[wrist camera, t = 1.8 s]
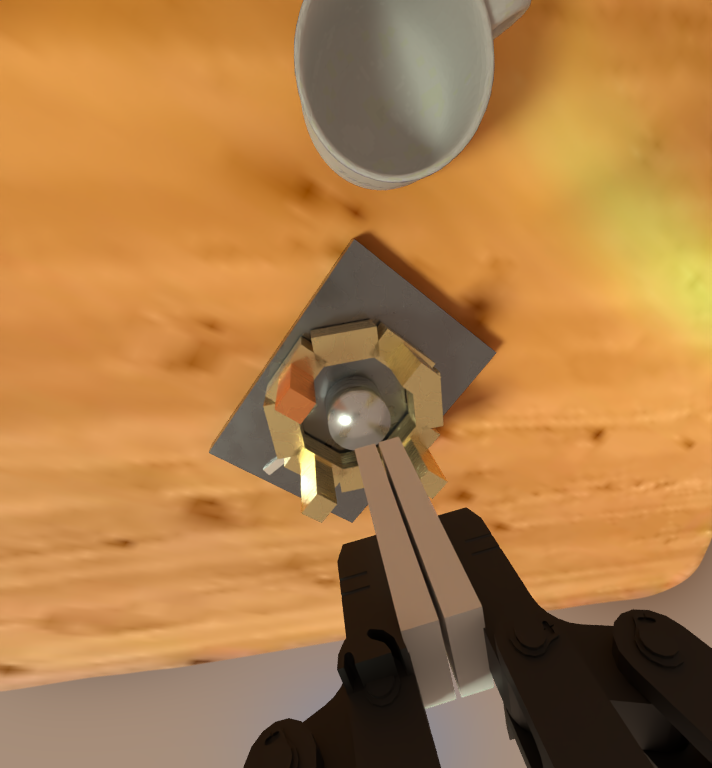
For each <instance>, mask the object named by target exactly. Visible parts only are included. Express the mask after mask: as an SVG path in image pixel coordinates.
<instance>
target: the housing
mask: <svg viewBox="0 0 712 768" xmlns="http://www.w3.org/2000/svg"><path fill="white" fill-rule="evenodd" d="M365 320H372V322H373V323H374V324H375V325H376V326H377V327H378V325H379V324H380V323H381V322H382V323H383V324H385V325H386V326H387V327H389V328H390V329H392V330H393V331H394V332H396V333H397V334H398V335H400V336H401V337H403V338H404V339H405V340H407V341H408V342H409V343H411V344H412V345H413V346H415V347H416V348H418V349H419V350H420V351H422V352H423V353H424V354H426V355H427V356H428V357H429V358H430V359H431V360H432V361H433V362H434V363H435V365H434V367H435V368H436V369H437V370H438V371H439V372H440V376H441V394H442V410H443V415H444V414H445V413H446V412H447V411H448V409H449V408H450V407H451V406H452V405H453V403H454V402H455V401H456V400H457V399H458V398H459V396H460V395H461V394H462V393H463V392H464V390H465V389H466V388H467V387H468V386H469V385H470V383H471V382H472V381H473V380H474V379H475V378H476V376H477V375H478V374H479V373H480V372H481V370H482V369H483V368H484V367H485V366H486V365H487V363H488V362H489V361H490V360H491V359H492V357H493V356H494V355H495V354H496V352H495V351H494V350H492V349H491V348H490V347H489V346H487V345H486V344H485V343H484V342H482V341H481V340H480V339H479V338H477V337H476V336H475V335H474V334H472V333H471V332H470V331H469V330H467V329H466V328H465V327H464V326H462V325H461V324H460V323H459V322H457V321H456V320H455V319H454V318H452V317H451V316H450V315H449V314H447V313H446V312H445V311H444V310H442V309H441V308H440V307H439V306H437V305H436V304H435V303H434V302H432V301H431V300H430V299H429V298H427V297H426V296H425V295H424V294H422V293H421V292H420V291H419V290H417V289H416V288H415V287H414V286H412V285H411V284H410V283H409V282H407V281H406V280H405V279H404V278H402V277H401V276H400V275H399V274H397V273H396V272H395V271H394V270H392V269H391V268H390V267H389V266H387V265H386V264H385V263H384V262H382V261H381V260H380V259H379V258H378V257H376V256H375V255H374V254H373V253H371V252H370V251H369V250H368V249H366V248H365V247H364V246H363V245H361V244H360V243H359V242H358V241H356V240H355V239H351V241H350V242H349V244H348V245H347V247H346V248H345V250H344V251H343V253H342V254H341V256H340V257H339V258H338V260H337V261H336V263H335V264H334V266H333V267H332V269H331V270H330V272H329V273H328V275H327V276H326V278H325V279H324V281H323V282H322V283H321V285H320V286H319V288H318V289H317V291H316V292H315V294H314V295H313V297H312V298H311V300H310V301H309V303H308V304H307V305H306V307H305V308H304V310H303V311H302V313H301V314H300V316H299V317H298V319H297V320H296V322H295V323H294V325H293V326H292V327H291V329H290V330H289V332H288V333H287V335H286V336H285V338H284V339H283V341H282V342H281V344H280V345H279V347H278V348H277V349H276V351H275V352H274V354H273V355H272V357H271V358H270V360H269V361H268V363H267V364H266V366H265V367H264V369H263V370H262V372H261V373H260V374H259V376H258V377H257V379H256V380H255V382H254V383H253V385H252V386H251V388H250V389H249V391H248V392H247V394H246V395H245V396H244V398H243V399H242V401H241V402H240V404H239V405H238V407H237V408H236V410H235V411H234V413H233V414H232V416H231V417H230V418H229V420H228V421H227V423H226V424H225V426H224V427H223V429H222V430H221V432H220V433H219V435H218V436H217V438H216V439H215V440H214V442H213V443H212V446H211V448H210V450H209V453H210V454H212V455H214V456H216V457H218V458H221V459H223V460H225V461H227V462H229V463H231V464H233V465H235V466H237V467H239V468H241V469H243V470H245V471H247V472H249V473H251V474H253V475H255V476H257V477H259V478H262V479H264V480H266V481H268V482H270V483H272V484H274V485H276V486H278V487H280V488H282V489H284V490H286V491H288V492H290V493H292V494H294V495H296V496H298V497H300V498H301V475H299V474H297V473H295V472H293V471H291V470H289V469H287V468H285V467H284V458H283V459H277V455H276V452H275V448H274V444H273V441H272V437H271V433H270V430H269V426H268V422H267V418H266V415H265V411H264V407H263V405H264V400H265V394H266V389H267V385H268V383H269V381H270V380H271V379H272V377H273V376H274V374H275V373H276V371H277V370H278V368H279V367H280V366H281V364H282V363H283V361H284V360H285V358H286V357H287V355H288V354H289V353H290V351H291V350H292V348H293V347H294V345H295V344H296V342H297V341H298V340H299V338H300V337H303V338H304V339H306V340H307V341H309V342H310V343H312V341H311V334H310V330H315V329H320V328H326V327H331V326H337V325H343V324H348V323H354V322H359V321H365ZM314 388H315V398H316V404H315V406H314V407H313V408H312V410H311V411H310V412H309V414H308V415H307V416H306V418H305V419H304V421H303V422H302V425H303V430H304V434H306V435H307V436H309V437H311V438H313V439H315V440H316V441H318V442H320V443H322V444H324V445H325V446H327V447H329V448H331V449H333V450H334V451H336V452H338V453H340V454H342V453H347V452H352V451H355V450H354V449H357V448H360V447H364V446H367V445H371V444H374V443H375V445H376V446H379V443H378V442H381V441H385V440H387V439H388V437H389V436H390V435H391V434H392V432H393V431H394V430H395V429H396V428H397V426H398V425H399V424H400V423H401V421H402V420H403V419H404V418H405V417H406V415H407V414H408V406H407V396H406V389H405V388H403V387H402V385H401V384H400V382H399V381H398V379H397V378H396V377H395V375H394V374H393V372H392V371H391V369H390V368H388V367H387V366H386V365H384V364H383V363H381V362H380V361H378V360H377V359H375V358H369V359H363V360H358V361H353V362H347V363H342V364H337V365H331V366H326V367H323V368H322V370H321V371H320V373H319V374H318V375H317V377H316V378H315V379H314ZM335 492H336V499H337V505H336V506H335V507H334V509H333V510H332V511H331V513H333V514H335V515H337V516H339V517H341V518H343V519H346V520H348V521H350V522H352V523H353V521H354V520H355V519H356V518H357V517H358V516H359V514H360V513H361V512H362V511H363V510H364V508H365V507H366V506H367V505H368V501H367V497H366V493H365V489H364V488H361V489H356V490H352V491H347V492H342V491H341V486H340V482H339V484H338V485H337V486H336V487H335Z"/></svg>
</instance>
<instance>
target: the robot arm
mask: <svg viewBox="0 0 712 768" xmlns="http://www.w3.org/2000/svg"><path fill="white" fill-rule="evenodd" d="M378 443H379V447H380V451H381V456H382V460H383V464H384V467H383V464H382V462H381V459H380V456H379V453H378V450H377V448H376V445H375V443H374V444H371V445H367V446H364V447H360V448H357V449H354V450H355V454H356V458H357V462H358V466H359V470H360V474H361V477H362V481H363V485H364V489H365V493H366V497H367V501H368V505H369V509H370V513H371V517H372V521H373V525H374V528H375V532H376V535H374V536H371V537H367V538H364V539H361V540H357V541H354V542H350V543H347V544H343V546H342V549H341V552H340V555H339V558H338V570H339V579H340V588H341V595H342V605H343V613H344V622H345V631H346V639H345V640H344V643H343V645H342V647H341V650H340V652H339V654H338V665H337V670H338V673H339V675H340V677H341V680H342V682H343V684H342V686H341V688H340V689H339V691H338V692H337V693H336V695H335V696H334V697H333V698H332V699H331V700H330V701H329V702H328V703H327V704H326V705H325V706H324V707H322V708H321V709H320V710H318V711H317V712H316V713H315V714H313V715H312V716H310V717H309V718H308V719H307V720H305V721H304V722H303V723H302V722H301V721H298V720H294V719H290V718H288V719H284V720H281V721H277V722H275V723H273V724H272V725H271V726H270V727H268V728H267V729H266V730H264V731H263V732H262V733H261V735H260V736H259V737H258V739H257V740H256V742H255V743H254V744H253V746H252V747H251V750H250V752H249V755H248V757H247V760H246V762H245V765H244V768H441V766H440V763H439V759H438V755H437V751H436V748H435V744H434V741H433V737H432V734H431V730H430V726H429V723H428V719H427V715H426V711H425V709H427V708H430V707H433V706H437V705H440V704H443V703H446V702H449V701H452V700H456V696H455V691H454V687H453V682H452V678H451V673H450V669H449V664H448V660H449V663H450V666H451V669H452V672H453V675H454V677H455V680H456V683H457V686H458V689H459V692H460V695H461V697H465V696H468V695H472V694H475V693H478V692H481V691H484V690H487V689H491V688H494V683H493V679H494V681H495V684H496V686H497V688H498V690H499V693H500V695H501V697H502V700H503V703H504V711H505V718H506V725H507V730H508V734H509V738H510V740H512V739H515V740H516V742H517V745H518V747H519V750H520V752H521V754H522V757H523V759H524V761H525V764H526V766H527V768H712V648H710V647H709V646H708V645H707V644H705V643H704V642H703V641H701V640H700V639H699V638H698V637H696V636H695V635H693V634H692V633H691V632H690V631H688V630H687V629H686V628H684V627H683V626H682V625H680V624H678V623H677V622H675V621H674V620H672V619H670V618H669V617H667V616H664V615H662V614H659V613H656V612H652V611H650V610H630V611H628V612H625V613H622V614H621V615H620V616H619V617H618V618H617V620H616V621H615V622H614V626H603V625H582V624H575V623H569V622H566V621H563V620H561V619H558V618H556V617H554V616H552V615H551V614H549V613H547V612H546V611H545V610H544V609H543V608H541V607H540V606H539V605H538V604H537V603H536V601H535V600H534V599H533V598H532V596H531V595H530V593H529V592H528V590H527V588H526V587H525V585H524V584H523V582H522V581H521V579H520V578H519V576H518V574H517V573H516V571H515V570H514V568H513V567H512V565H511V564H510V562H509V560H508V559H507V557H506V556H505V554H504V553H503V551H502V550H501V549H500V547H499V545H498V543H497V542H496V540H495V539H494V537H493V536H492V535H491V532H490V531H489V529H488V528H487V526H486V525H485V523H484V521H483V520H482V518H481V517H479V516H478V515H476V514H475V513H474V512H472V511H471V510H469V509H468V508H462V509H459V510H456V511H452V512H449V513H445V514H442V515H437V513H436V511H435V509H434V507H433V505H432V503H431V501H430V499H429V497H428V495H427V493H426V491H425V489H424V487H423V485H422V483H421V481H420V479H419V477H418V475H417V473H416V471H415V469H414V467H413V465H412V463H411V461H410V458H409V456H408V454H407V452H406V450H405V448H404V446H403V444H402V442H401V440H400V438H399V437H396V438H392V439H389V440H385V441H381V442H378ZM384 468H385V470H384ZM385 472H386V473H385ZM447 657H448V660H447Z"/></svg>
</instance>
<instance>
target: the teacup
mask: <svg viewBox="0 0 712 768" xmlns="http://www.w3.org/2000/svg"><path fill="white" fill-rule="evenodd" d="M530 3H531V0H303V3H302V6H301V10H300V13H299V17H298V21H297V25H296V32H295V38H294V64H295V76H296V81H297V88H298V93H299V96H300V100H301V105H302V111H303V115H304V119H305V123H306V126H307V129H308V132H309V135H310V137H311V139H312V142H313V144H314V146H315V147H316V149H317V151H318V152H319V154H320V156H321V157H322V158H323V160H324V161H325V162H326V163H327V165H328V166H329V167H330V168H331V169H332V170H333V171H335V172H336V173H337V174H338V175H339V176H341V177H342V178H344V179H345V180H347V181H348V182H350V183H352V184H354V185H357V186H360V187H363V188H367V189H373V190H390V189H396V188H400V187H403V186H406V185H409V184H411V183H414V182H416V181H418V180H420V179H422V178H424V177H427V176H429V175H431V174H433V173H435V172H437V171H439V170H441V169H442V168H443V167H444V166H446V165H447V164H448V163H450V162H451V161H452V160H453V159H454V158H455V157H456V156H457V155H458V154H459V153H460V152H461V151H462V150H463V149H464V147H465V146H466V145H467V144H468V143H469V141H470V140H471V139H472V137H473V136H474V134H475V132H476V131H477V129H478V127H479V125H480V122H481V120H482V118H483V115H484V113H485V111H486V108H487V105H488V102H489V99H490V95H491V89H492V85H493V79H494V45H493V40H494V39H495V38H496V37H498V36H499V35H500V34H502V33H503V32H504V31H505V30H507V29H508V28H509V27H510V26H511V25H512V24H514V23H515V22H516V21H517V20H518V19H519V18H520V17H521V16H522V15H523V14H524V13H525V12H526V10H527V9H528V8H529V6H530Z"/></svg>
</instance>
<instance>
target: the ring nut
mask: <svg viewBox="0 0 712 768" xmlns="http://www.w3.org/2000/svg"><path fill="white" fill-rule="evenodd" d="M310 334H311V341H312V343H310V342H309V341H307V340H306V339H304V338H303V337H300V338H299V340H298V341H297V342H296V344H295V345H294V347H293V348H292V350H291V351H290V353H289V354H288V355H287V357H286V358H285V360H284V361H283V363H282V364H281V366H280V367H279V368H278V370H277V371H276V373H275V374H274V376H273V377H272V379H271V380H270V381H269V383H268V385H267V389H266V394H265V400H264V405H263V407H264V411H265V415H266V418H267V422H268V426H269V430H270V433H271V437H272V441H273V444H274V448H275V452H276V455H277V459H283V458H284V467H285V468H287V469H289V470H291V471H293V472H295V473H297V474H299V475H301V513H302V514H304V515H306V516H308V517H310V518H312V519H314V520H317V521H319V522H321V523H322V522H323V521H324V520H325V518H326V517H327V516H328V515H329V513H330V512H331V511H332V510H333V509H334V507H335V506H336V505H337V499H336V492H335V487H336V486H337V485H338V484H339V482H340V486H341V491H342V492H347V491H352V490H356V489H361V488H364V485H363V481H362V477H361V474H360V470H359V466H358V462H357V458H356V454H355V451H352V452H347V453H342V454H340V453H338V452H336V451H334V450H333V449H331V448H329V447H327V446H325V445H324V444H322V443H320V442H318V441H316V440H315V439H313V438H311V437H309V436H307V435H306V434H304V430H303V425H302V422H303V421H304V419H305V418H306V416H307V415H308V414H309V412H310V411H311V410H312V408H313V407H314V406H315V404H316V398H315V388H314V379H315V378H316V377H317V375H318V374H319V373H320V371H321V370H322V368H323V367H326V366H331V365H337V364H342V363H347V362H353V361H358V360H363V359H369V358H375V359H377V360H378V361H380V362H381V363H383V364H384V365H386V366H387V367H388V368H390V369H391V371H392V372H393V374H394V375H395V377H396V378H397V379H398V381H399V382H400V384H401V385H402V387H403V388H405V389H406V396H407V406H408V414H407V415H406V417H405V418H404V419H403V420H402V421H401V423H400V424H399V425H398V426H397V428H396V429H395V430H394V431H393V432H392V434H391V435H390V436H389V437H388V439H387V440H389V439H392V438H396V437H399V438H400V440H401V442H402V444H403V446H404V448H405V450H406V452H407V454H408V456H409V458H410V461H411V463H412V465H413V467H414V469H415V471H416V473H417V475H418V477H419V479H420V481H421V483H422V485H423V487H424V489H425V491H426V493H427V495H428V496H429V497H430V498H432V499H433V498H434V497H435V496H436V494H437V493H438V492H439V491H440V490H441V489H442V488H443V487H444V486H445V484H446V483H447V480H446V478H445V477H444V475H443V473H442V472H441V470H440V468H439V467H438V465H437V463H436V462H435V460H434V458H433V457H432V455H431V453H430V452H429V450H428V448H429V447H430V446H431V445H432V444H433V443H434V441H435V440H436V439H437V438H438V437H439V436H440V434H439V432H438V431H437V429H436V428H435V427H440V426H443V410H442V394H441V376H440V372H439V371H438V370H437V369H436V368H435V367H434V365H435V363H434V362H433V361H432V360H431V359H430V358H429V357H428V356H427V355H426V354H424V353H423V352H422V351H420V350H419V349H418V348H416V347H415V346H413V345H412V344H411V343H409V342H408V341H407V340H405V339H404V338H403V337H401V336H400V335H398V334H397V333H396V332H394V331H393V330H392V329H390V328H389V327H387V326H386V325H385V324H383V323H382V322H381V323H380V324H379V325H378V327H377V326H376V325H375V324H374V323H373V322H372V320H365V321H359V322H354V323H348V324H343V325H337V326H331V327H326V328H320V329H315V330H310ZM376 448H377V450H378V453H379V456H380V459H381V462H382V464H383V460H382V456H381V451H380V447H379V446H376ZM383 467H384V464H383ZM384 470H385V468H384ZM385 473H386V472H385Z"/></svg>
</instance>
